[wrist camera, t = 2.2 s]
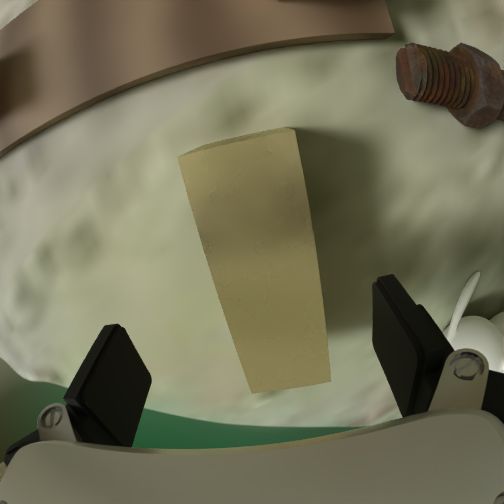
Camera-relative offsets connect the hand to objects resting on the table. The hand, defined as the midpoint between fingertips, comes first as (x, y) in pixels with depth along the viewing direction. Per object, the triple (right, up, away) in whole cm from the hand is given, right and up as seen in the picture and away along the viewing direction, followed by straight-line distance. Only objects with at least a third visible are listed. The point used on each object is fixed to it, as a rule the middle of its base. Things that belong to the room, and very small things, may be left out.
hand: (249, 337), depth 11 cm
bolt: (+15, +13, +3) cm, 20 cm away
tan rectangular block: (+1, +3, +8) cm, 9 cm away
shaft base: (-8, +16, +2) cm, 18 cm away
